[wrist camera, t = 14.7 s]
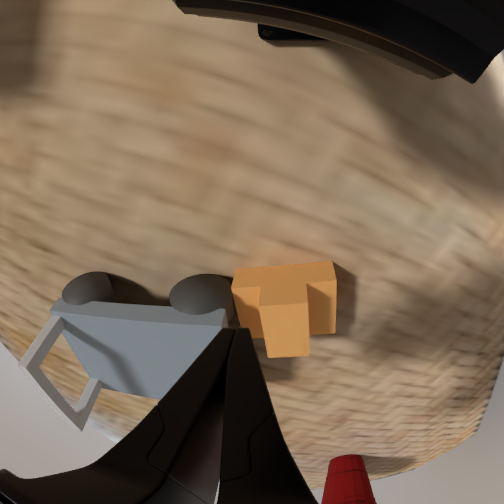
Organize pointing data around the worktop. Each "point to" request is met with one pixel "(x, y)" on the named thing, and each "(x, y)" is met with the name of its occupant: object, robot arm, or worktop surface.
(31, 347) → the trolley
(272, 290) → the chock
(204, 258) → the worktop surface
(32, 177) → the worktop surface
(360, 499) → the plastic cup
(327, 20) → the robot arm
